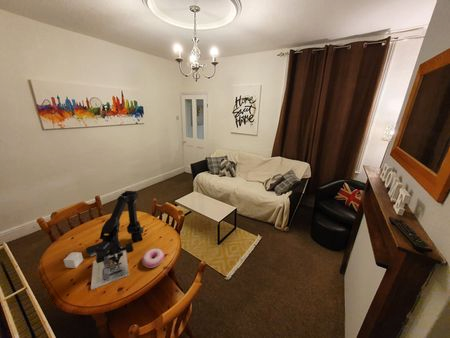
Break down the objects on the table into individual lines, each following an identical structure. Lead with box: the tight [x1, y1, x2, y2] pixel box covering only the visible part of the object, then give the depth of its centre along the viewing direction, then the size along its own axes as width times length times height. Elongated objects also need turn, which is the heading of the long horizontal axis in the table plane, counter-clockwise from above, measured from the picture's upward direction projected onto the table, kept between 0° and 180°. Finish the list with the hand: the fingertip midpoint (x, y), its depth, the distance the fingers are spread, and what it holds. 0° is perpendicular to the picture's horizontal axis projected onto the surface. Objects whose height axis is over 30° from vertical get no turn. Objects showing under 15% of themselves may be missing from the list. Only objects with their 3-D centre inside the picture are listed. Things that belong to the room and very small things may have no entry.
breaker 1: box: [103, 256, 109, 264], centre depth 111 cm, size 3×4×4 cm
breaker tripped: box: [109, 260, 115, 269], centre depth 108 cm, size 3×4×4 cm
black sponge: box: [85, 242, 101, 258], centre depth 122 cm, size 16×8×4 cm, turn 127°
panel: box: [90, 251, 130, 291], centre depth 108 cm, size 18×20×2 cm
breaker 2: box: [102, 268, 109, 280], centre depth 102 cm, size 3×4×4 cm
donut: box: [141, 248, 165, 269], centre depth 115 cm, size 14×13×5 cm
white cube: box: [63, 251, 84, 269], centre depth 110 cm, size 6×6×6 cm
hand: (117, 262), depth 110 cm, fingers closed
